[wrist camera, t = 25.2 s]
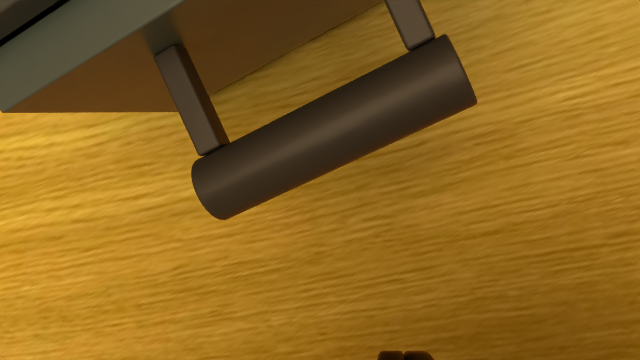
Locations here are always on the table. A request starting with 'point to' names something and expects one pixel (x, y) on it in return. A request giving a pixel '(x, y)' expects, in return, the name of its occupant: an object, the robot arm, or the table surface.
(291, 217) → the table surface
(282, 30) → the drawer
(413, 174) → the table surface
